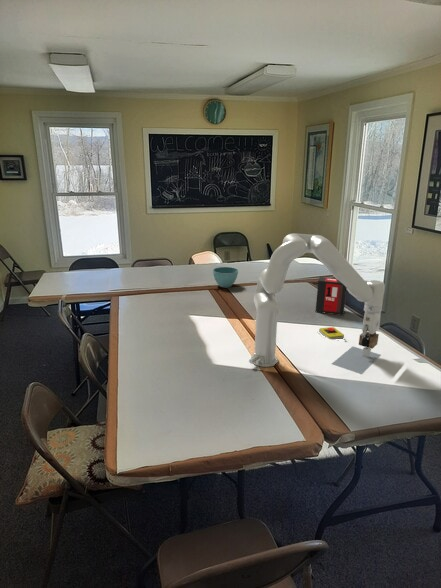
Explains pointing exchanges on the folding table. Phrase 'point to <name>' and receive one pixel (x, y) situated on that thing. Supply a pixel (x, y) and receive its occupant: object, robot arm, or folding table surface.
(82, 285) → the folding table surface
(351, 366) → the shaft plate
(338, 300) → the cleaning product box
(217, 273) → the teal rounded bowl
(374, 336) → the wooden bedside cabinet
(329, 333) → the emergency button
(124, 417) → the folding table surface
